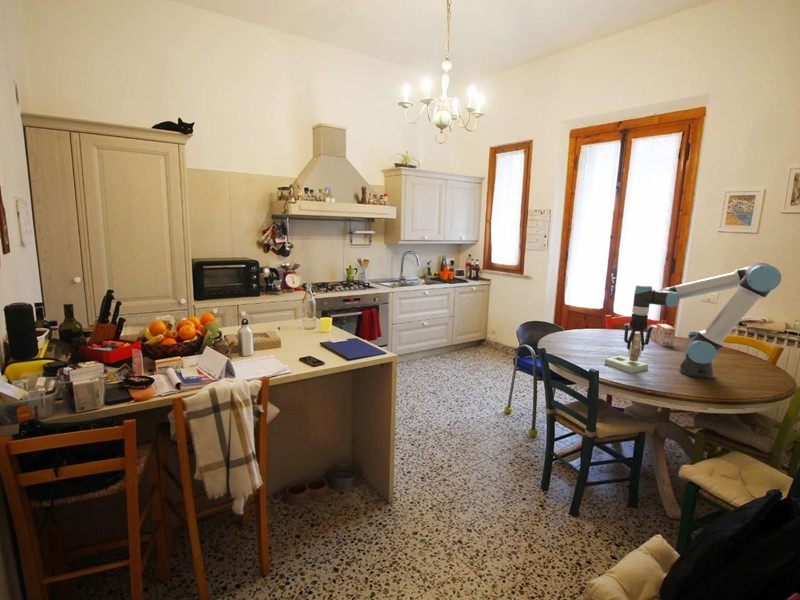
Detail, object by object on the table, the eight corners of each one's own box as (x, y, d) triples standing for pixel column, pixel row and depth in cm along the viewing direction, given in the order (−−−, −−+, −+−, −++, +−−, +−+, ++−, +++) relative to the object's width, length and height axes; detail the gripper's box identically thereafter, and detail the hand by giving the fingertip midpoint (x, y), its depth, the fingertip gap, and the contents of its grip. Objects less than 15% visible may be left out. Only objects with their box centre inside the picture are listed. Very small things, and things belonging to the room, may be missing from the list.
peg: (639, 361, 224) (643, 334, 221) (634, 361, 222) (638, 335, 219) (632, 358, 227) (635, 332, 224) (627, 359, 225) (631, 333, 222)
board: (647, 369, 225) (648, 364, 224) (631, 373, 219) (632, 367, 218) (620, 360, 239) (621, 355, 238) (604, 363, 233) (605, 358, 232)
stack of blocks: (648, 337, 292) (650, 320, 290) (658, 338, 291) (660, 321, 289) (662, 346, 271) (665, 327, 269) (672, 346, 270) (675, 328, 268)
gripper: (656, 313, 221) (650, 355, 225) (620, 311, 226) (615, 351, 230) (660, 316, 214) (653, 359, 218) (623, 313, 219) (618, 355, 223)
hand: (634, 355), depth 224 cm, fingers closed on peg, 4 cm apart
